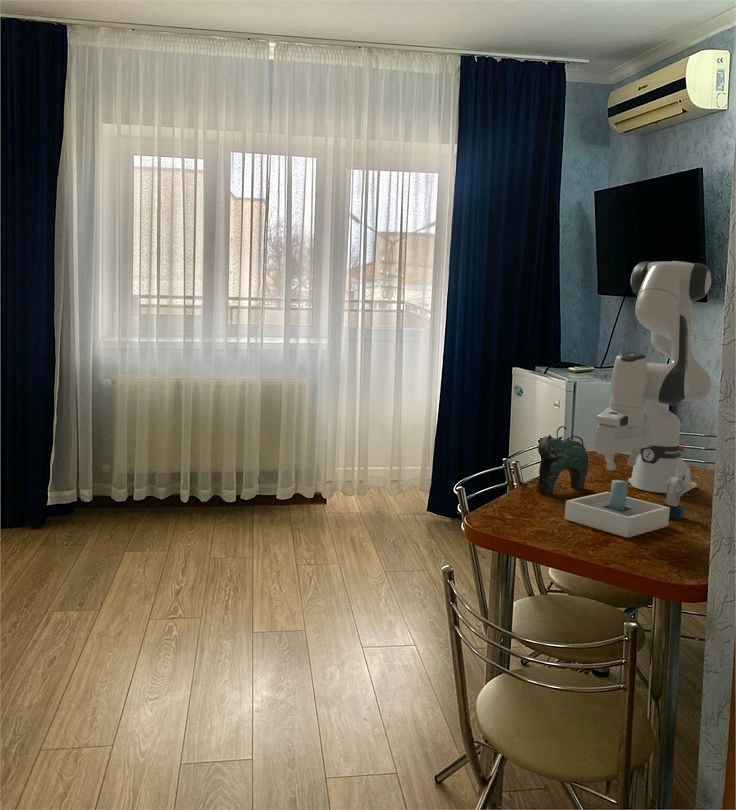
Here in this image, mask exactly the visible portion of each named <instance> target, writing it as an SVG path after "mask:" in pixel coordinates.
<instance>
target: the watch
mask: <svg viewBox="0 0 736 810" xmlns="http://www.w3.org/2000/svg"><path fill="white" fill-rule="evenodd" d="M665 485H667V487H668V492H667V493H666V500H665V501H666V502H663V503H661V505H662V506H665V507H669V508H670V512H669V519H670V520H676V521H682V519H683V518H684V517H685V516H684V515H685V505H681V504H679V503H680V499H681V497H682V496H683V495H684V494H683V492H684V490H685V488H686V483H685V481H684V480H682V479H681V478H678V477H670V479H669V480H668V483H666V484H665Z"/></svg>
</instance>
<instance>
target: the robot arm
mask: <svg viewBox="0 0 736 810" xmlns="http://www.w3.org/2000/svg"><path fill="white" fill-rule="evenodd" d="M711 275H712V274H711V271H710V268H709V267H708V266H707V264H706V265H705V264H703V263H700V262H699V263H698V262H694V263H692V262H687V261H681V260H680V261H678V260H672V261H652V262H651V261H649V260H647V261H641V262H639V263H638V264H637V265H635V266H634V268H633V269H632V273H631V277H630V286H631V291H632V293H634V295H636V296H637V297H636V298H637V299H636V301H635V302H636V303H635V307H634V308H635V309H634V310H635V311H634V313H635V316H636V320H637V321H638V322H639V323H640V325H641V326H643V327H644V328H645V329H646V330H648V331H650V335H651V336H650V343H651V345H652V346H653V349H655V350H656V351H658V352H660V353H662V354H664V355H666V356H667V357H668V359H669V361H670V363H659V362H658V363H657V362H648V358H647V356H646V355H645V354H643V353H641V352H635V351H628V352H627V351H626V352H621V353H619V354H617V355H616V357H615V360H614V364H613V368H612V373H611V379H610V389H611V396H610V399H609V404H608V407H607V408H606V409H605V410H603V411H602V412H601V413H599V414H597V416H596V423H597V424H598V425H597V427H596V431H595V439H594V440H595V441H594V450H595V452H596V453H597V454H599V455H603V456H604V457H603V458H604V459H605V462H606V467H605V468H606V470H607V471H615V470H616V466H617V463H615V462H614V458H615V455H616V454H620V453H626V452H630V453H629V458H627V459H626V461H627V463H626V465H627V466H630V467H633V468H632V473H631V477H630V478H628V480H627V482H628V483H630V485H631V486H632V487H634V488H635V489H638V490H642V491H646V492H652V493H657V494H658V493H661V494H667V492H668V487H667V485H665V484H666V483H668V480H669V479H670V477H678V478H681V479H682V480H684V481H685V483H686V488H685V490H684V492H683V494H682V495H685V494H686V492H687V493H689V492H690V490H691V489H693V488H695V487H696V486H697V487H698V483H695V482H693V481H691V468H690V467H689V466H688V464H687V463H686V462H685V461H684V460H683V459H682V457H681V456H682V454H681V453H682V452H685V450H686V446H685V445H683V444H680V435H681V434H680V433H681V426H682V425H681V420H680V418H679V417H678V416H677V415H676V414H675V413H673V412H671V411H670V410H668V409H667V408H665V407H664V406H663V405H662V404H664V405H669V406H675V405H677V404H679V403H681V402H696V401H703V400H704V399H705V398H706V397H707V396H708V394H709V393H710V391H711V388H712V378H711V376H710V374H709V372H708V371H707V370H706V369H705V368H704V367H703V366H702V365H700V364H699V362H698V361H697V359H696V358H695V356H694V354H693V351H692V346H691V328H692V317H693V303H696V302H697V301H699V300H701V299H703V298H705V297H706V296H707V295H708V292H709V290H710V289H711V286H712V276H711ZM697 487H696V488H697ZM696 488H695V489H696ZM693 490H694V489H693ZM688 491H689V492H688ZM691 491H692V490H691ZM684 493H685V494H684Z"/></svg>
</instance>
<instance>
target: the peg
mask: <svg viewBox="0 0 736 810" xmlns="http://www.w3.org/2000/svg"><path fill="white" fill-rule="evenodd" d="M628 483H629V482H628V481H625V480H619V479H614V480H613V479H612V480H611V487H610V492H611V496H610V507H609V509H612V510H616V511H619V512H622V511H625V507H626V497H628V485H629V484H628Z"/></svg>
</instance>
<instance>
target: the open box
mask: <svg viewBox="0 0 736 810" xmlns="http://www.w3.org/2000/svg"><path fill="white" fill-rule="evenodd" d="M610 496H611V491H610V492H609V491H604V492H600V493H595V494H590V495H586V496H581V497H577V498H572V499H567V500H565V507H564V518H563V519H564V520H566V521H568V522H569V521H570V522H573V523H576V524H579V525H583V526H587V527H589V528H590V527H591V528H593V529H597V530H600V531H603V532H607V533H611V534H613V535H617V536H620V537H624V538H628V539H629V538H631V537H635V536H639V535H642V534H645V533H649V532H653V531H656V530H659V529H662V528H666V527H669V512H670V508H669V507H665V506H662V504H658V503H653V502H650V501H646V500H641V499H637V498H634V497H629V496H626V507H625V511H622V512H619V511H616V510H612V509H609V507H610Z"/></svg>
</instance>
